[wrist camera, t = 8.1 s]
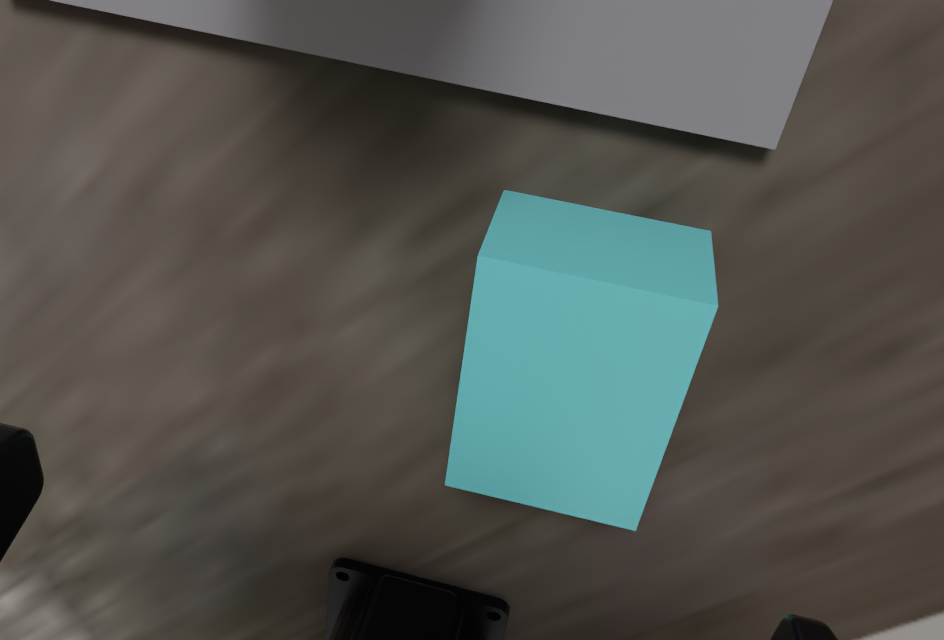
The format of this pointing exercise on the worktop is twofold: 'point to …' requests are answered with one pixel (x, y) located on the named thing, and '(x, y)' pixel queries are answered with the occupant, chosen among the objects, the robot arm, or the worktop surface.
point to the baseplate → (552, 49)
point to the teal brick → (578, 356)
